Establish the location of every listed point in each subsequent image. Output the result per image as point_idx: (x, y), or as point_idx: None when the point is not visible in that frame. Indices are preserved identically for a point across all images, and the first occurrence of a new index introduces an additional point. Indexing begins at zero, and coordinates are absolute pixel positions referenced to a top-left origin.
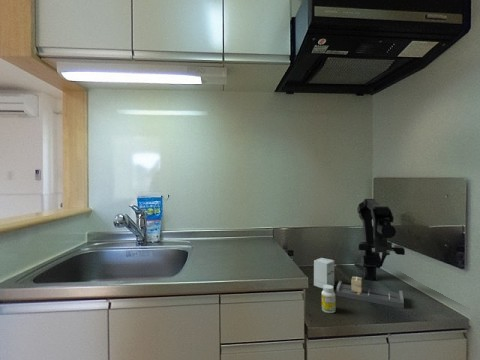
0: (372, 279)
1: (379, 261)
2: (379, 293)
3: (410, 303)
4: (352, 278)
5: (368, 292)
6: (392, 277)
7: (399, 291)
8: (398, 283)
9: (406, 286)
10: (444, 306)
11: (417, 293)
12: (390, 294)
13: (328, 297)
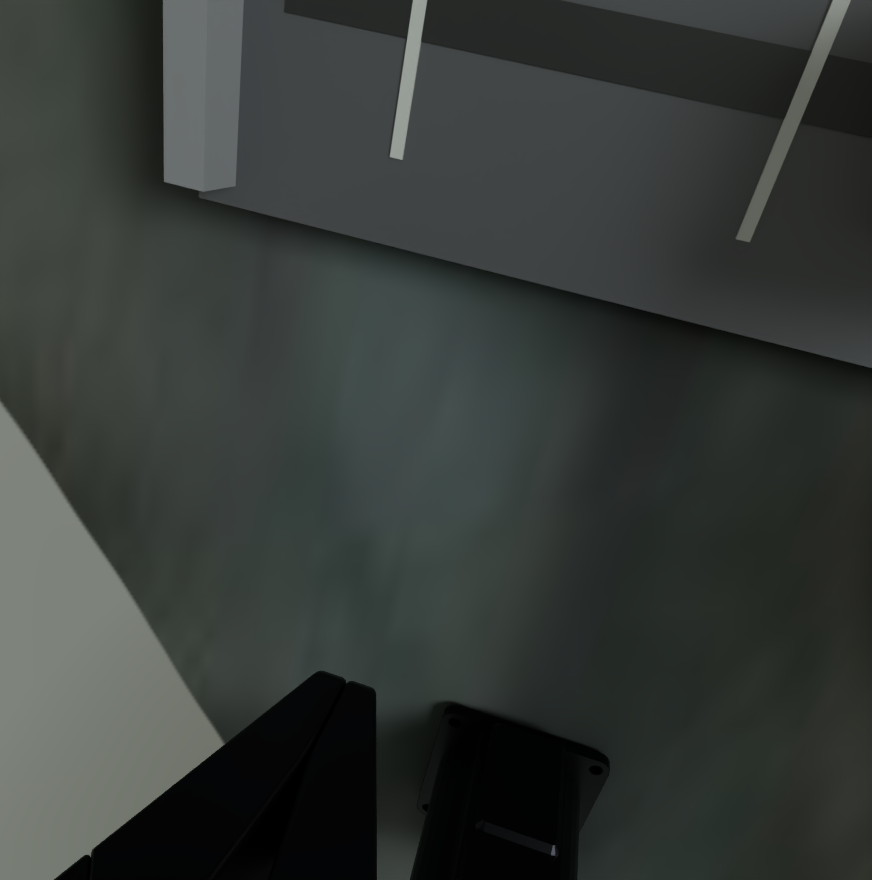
0: (503, 724)
1: (323, 846)
2: (577, 103)
3: (144, 20)
4: None
5: (812, 85)
6: None
7: (206, 151)
8: (224, 651)
9: (153, 583)
10: None
11: (56, 409)
12: (380, 112)
13: None
